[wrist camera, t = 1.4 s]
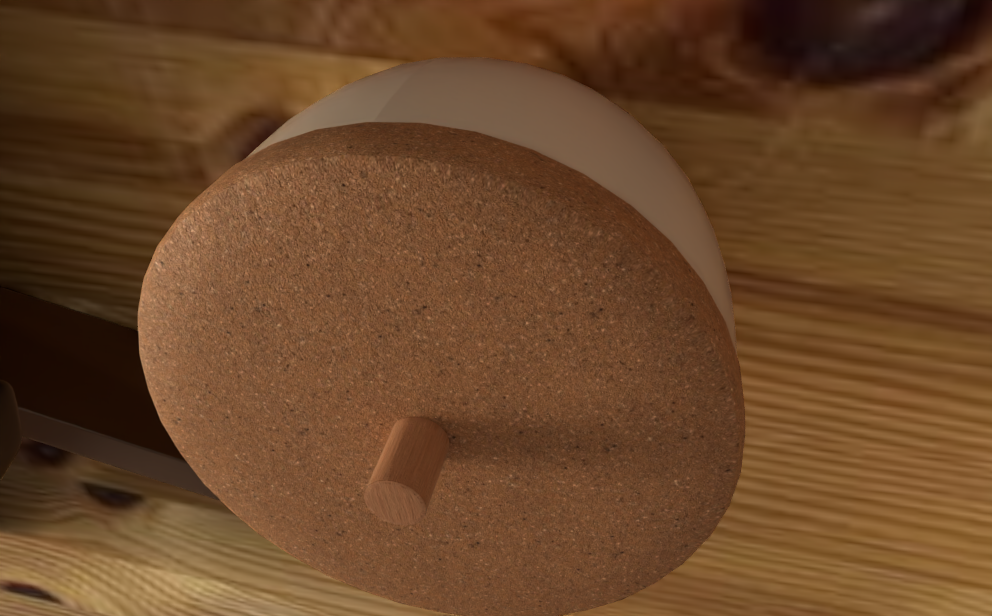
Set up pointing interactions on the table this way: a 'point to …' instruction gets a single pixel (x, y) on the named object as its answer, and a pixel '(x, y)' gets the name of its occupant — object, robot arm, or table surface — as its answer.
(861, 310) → the table surface
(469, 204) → the trinket box
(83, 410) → the walnut bay
